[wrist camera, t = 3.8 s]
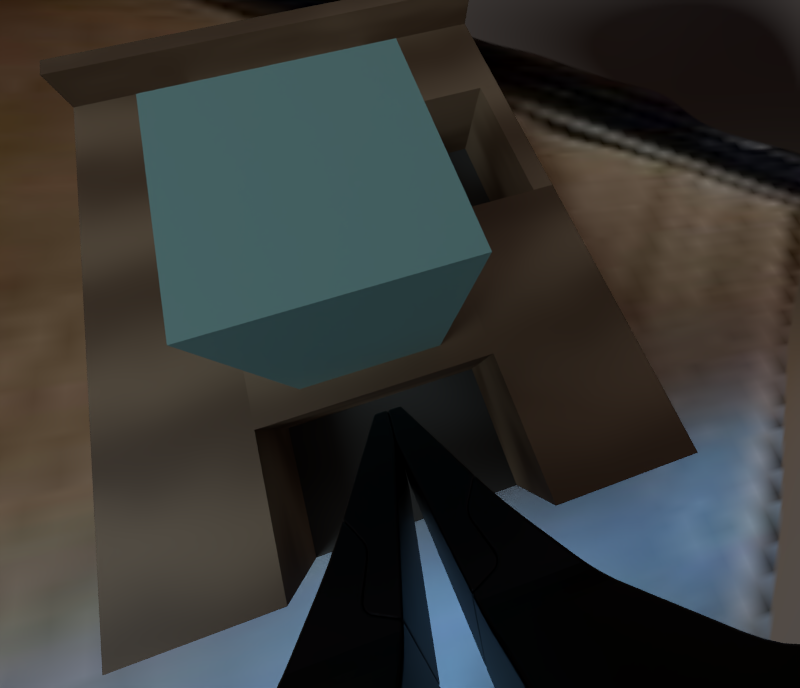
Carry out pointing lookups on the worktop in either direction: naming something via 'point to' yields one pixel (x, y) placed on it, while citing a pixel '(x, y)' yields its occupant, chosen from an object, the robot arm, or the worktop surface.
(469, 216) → the teal block
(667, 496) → the worktop surface
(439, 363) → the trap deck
